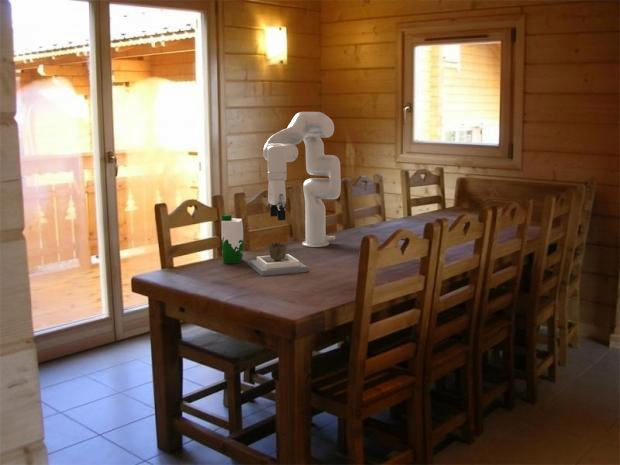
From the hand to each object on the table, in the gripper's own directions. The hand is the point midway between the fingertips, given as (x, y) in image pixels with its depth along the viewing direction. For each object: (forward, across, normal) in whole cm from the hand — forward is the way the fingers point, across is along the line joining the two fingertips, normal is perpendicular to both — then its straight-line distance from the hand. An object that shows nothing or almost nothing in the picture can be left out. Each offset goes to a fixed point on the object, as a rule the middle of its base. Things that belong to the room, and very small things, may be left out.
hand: (277, 218), depth 293 cm
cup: (+19, +1, -1) cm, 19 cm away
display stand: (+20, +2, -1) cm, 21 cm away
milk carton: (+21, -17, -15) cm, 31 cm away
